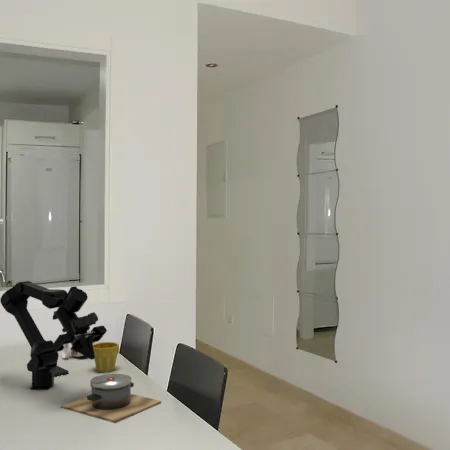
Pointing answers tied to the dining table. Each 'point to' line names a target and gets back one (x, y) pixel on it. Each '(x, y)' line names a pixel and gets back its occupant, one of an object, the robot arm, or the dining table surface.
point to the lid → (110, 381)
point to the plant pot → (105, 356)
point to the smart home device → (59, 371)
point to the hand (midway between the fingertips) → (93, 358)
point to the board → (114, 415)
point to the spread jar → (72, 351)
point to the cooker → (111, 398)
